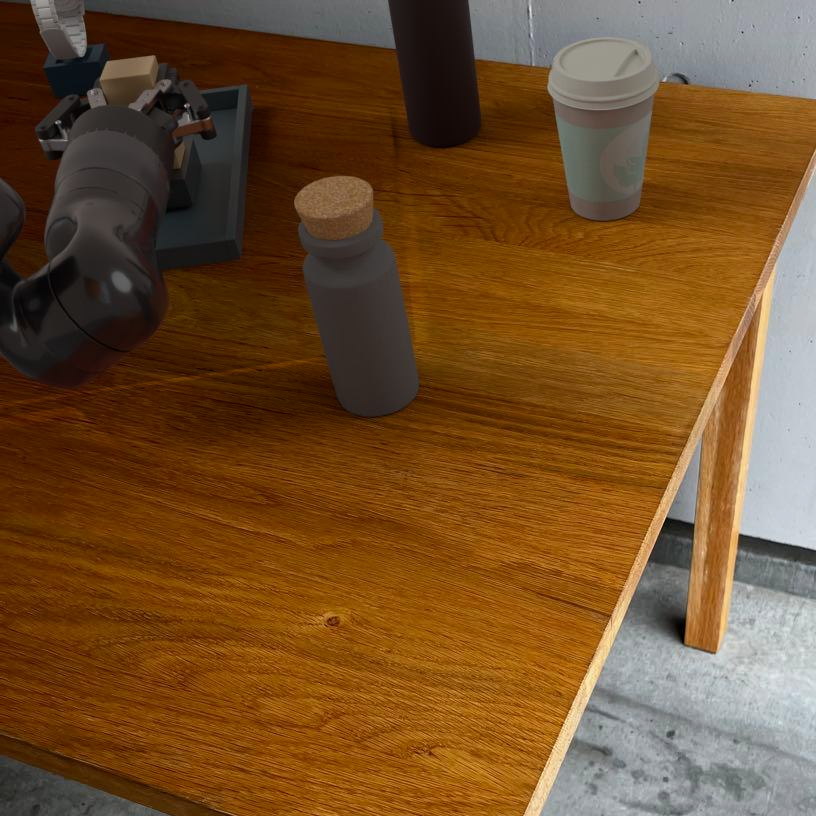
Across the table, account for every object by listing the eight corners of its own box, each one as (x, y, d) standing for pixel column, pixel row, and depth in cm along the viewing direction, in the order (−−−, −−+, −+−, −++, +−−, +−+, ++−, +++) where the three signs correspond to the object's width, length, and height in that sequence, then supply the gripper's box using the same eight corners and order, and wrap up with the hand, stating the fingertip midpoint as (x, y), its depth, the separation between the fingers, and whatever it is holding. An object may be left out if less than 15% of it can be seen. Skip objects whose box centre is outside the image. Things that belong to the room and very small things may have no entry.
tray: (73, 288, 84) (61, 262, 83) (114, 126, 103) (105, 102, 101) (242, 264, 85) (234, 238, 83) (254, 108, 103) (247, 83, 102)
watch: (118, 65, 112) (77, -47, 104) (107, 99, 107) (63, -15, 98) (65, 71, 112) (20, -40, 104) (51, 106, 106) (3, -8, 98)
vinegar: (497, 126, 98) (473, -116, 83) (444, 156, 95) (409, -91, 80) (447, 106, 101) (416, -131, 86) (394, 134, 98) (353, -107, 83)
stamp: (134, 213, 90) (88, 90, 82) (145, 171, 95) (104, 52, 88) (193, 205, 90) (152, 82, 82) (201, 163, 95) (164, 45, 88)
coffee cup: (596, 243, 84) (593, 96, 75) (534, 200, 89) (523, 57, 80) (678, 204, 87) (683, 58, 78) (613, 165, 92) (611, 23, 83)
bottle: (406, 354, 76) (367, 161, 65) (430, 402, 72) (393, 206, 61) (328, 377, 75) (274, 184, 64) (348, 427, 71) (295, 232, 60)
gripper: (196, 119, 75) (211, 21, 86) (-6, 145, 74) (36, 43, 85) (226, 213, 80) (237, 109, 92) (38, 239, 80) (72, 131, 91)
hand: (140, 78), depth 89 cm, fingers closed on stamp, 4 cm apart
